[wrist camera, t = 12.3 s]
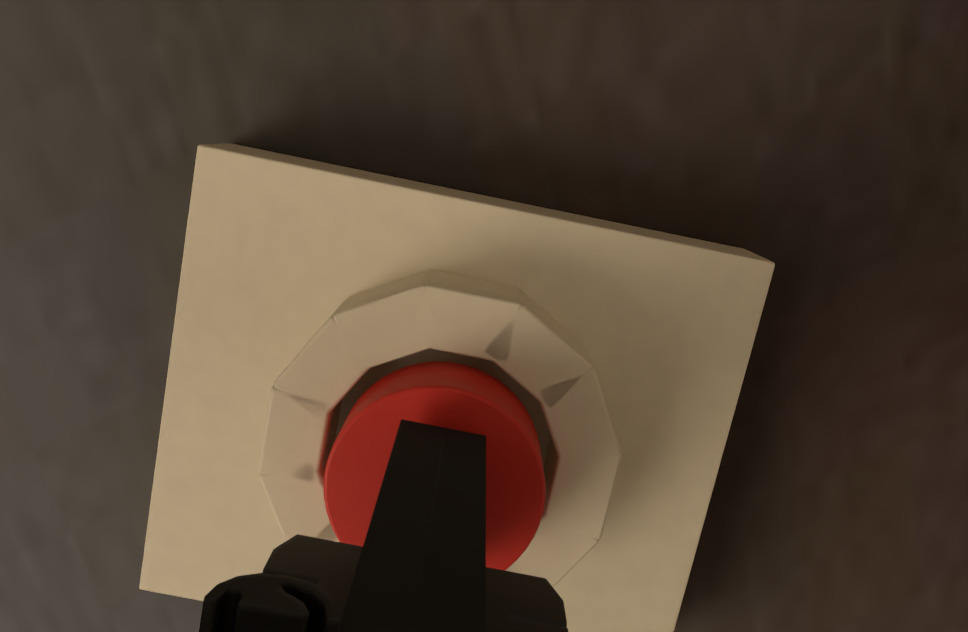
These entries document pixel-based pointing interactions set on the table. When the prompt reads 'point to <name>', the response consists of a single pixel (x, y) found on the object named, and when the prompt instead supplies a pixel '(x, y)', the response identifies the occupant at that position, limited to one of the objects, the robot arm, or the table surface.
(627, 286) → the control block
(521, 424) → the button
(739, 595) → the table surface
